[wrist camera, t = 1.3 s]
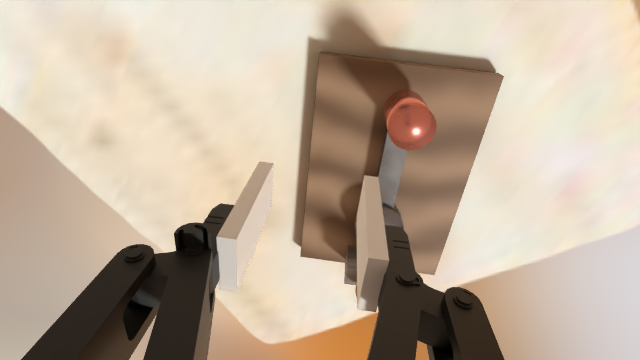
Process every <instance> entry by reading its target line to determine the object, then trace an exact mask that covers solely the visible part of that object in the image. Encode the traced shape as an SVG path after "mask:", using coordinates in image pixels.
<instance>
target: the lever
mask: <svg viewBox="0 0 640 360" xmlns="http://www.w3.org/2000/svg"><path fill="white" fill-rule="evenodd" d="M384 117H385V121H386V125H387V128H386V133H385V138H384V143H383V148H382V153H381V158H380V163H379V168H378V173H377V177H378V178H379V186H380V194H381V202H382V209H383V217H384V225H390V226H398V227H402V228H403V229H404V226H403V221H402V216H401V213H400V211H399V209H398V208H397V207H396V206H395V205H394V204H395V200H396V195H397V191H398V187H399V183H400V179H401V175H402V171H403V166H404V162H405V158H406V154H407V150H417V149H420V148H422V147H424V146H426V145H427V144H428V143H429V142H430V141H431V140H432V139H433V137H434V135H435V132H436V127H437V125H436V119H435V117H434V115H433V114H432V112H431V111H430V109H429V108H428V106H427V105H426V103H425V102H424V100H423V98H422V97H421V96H420V95H419V94H418V93H416V92H414V91H410V90H403V91H399V92H397V93H395V94H393V95H392V96H391V97H390V98H389V99H388V100H387V102H386V104H385V107H384ZM357 212H358V211H357ZM357 212H356V215H355V234H356V237H357Z"/></svg>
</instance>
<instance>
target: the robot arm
mask: <svg viewBox="0 0 640 360" xmlns="http://www.w3.org/2000/svg"><path fill="white" fill-rule="evenodd" d="M272 187H273V163H266V162H259V163H258V165H257V167H256V169H255V170H254V172H253V174H252V176H251V177H250V179H249V181H248V183H247V184H246V186H245V188H244V190H243V191H242V193H241V195H240V197H239V198H238V200H237V202H236V204H235V205H228V204H219V205H218V206H216V207H215V208H213V209H212V210H211V212H210V213H209V215H208V217H207V218H206V219H205V221H204V222H203V224H202V223H188V224H186V225H183V226H181V227H179V228H178V229H177V230H176V231H175V233H174V237H175V245H176V251H174V252H169V253H159V254H154V251H153V249H152V248H151V247H150V246H148V245H144V244H138V245H137V244H136V245H132V246H128V247H126V248H124V249H122V250H121V251H120V252H118V253H117V254H116V255H115V256H114V258H113V259H112V260H111V261H110V262H109V263H108V264H107V265H106V266H105V268H104V269H103V270H102V271H101V272H100V273H99V274H98V275H97V276H96V277H95V278H94V280H93V281H92V282H91V283H90V284H89V285H88V286H87V287H86V288H85V290H84V291H83V292H82V293H81V294H80V295H79V296H78V297H77V298H76V299H75V301H74V302H73V303H72V304H71V305H70V306H69V307H68V308H67V309H66V311H65V312H64V313H63V314H62V315H61V316H60V317H59V318H58V319H57V321H56V322H55V323H54V324H53V325H52V326H51V327H50V328H49V329H48V330H47V331H46V333H45V334H44V335H43V336H42V337H41V338H40V339H39V340H38V341H37V343H36V344H35V345H34V346H33V347H32V348H31V349H30V350H29V351H28V352H27V354H26V355H25V356H24V357H23V358H22V359H21V360H129V359H130V357H131V355H132V354H133V352H134V350H135V349H136V347H137V345H138V344H139V342H140V341H141V339H142V337H143V336H144V334H145V332H146V330H147V329H148V327H149V326H150V324H151V322H152V321H153V319H154V317H155V316H156V314H157V316H156V319H155V323H154V326H153V330H152V333H151V336H150V339H149V343H148V346H147V349H146V352H145V356H144V359H143V360H207V355H208V347H209V340H210V333H211V325H212V318H213V310H214V302H215V288H216V285H217V283H218V281H219V290H225V291H232V292H238V290H239V288H240V285H241V283H242V280H243V277H244V275H245V272H246V270H247V267H248V265H249V262H250V260H251V257H252V255H253V252H254V250H255V247H256V245H257V242H258V239H259V237H260V234H261V232H262V229H263V227H264V224H265V222H266V219H267V217H268V214H269V212H270V209H271V207H272ZM377 306H378V309H379V313H378V317H377V321H376V325H375V329H374V333H373V337H372V341H371V345H370V349H369V353H368V357H367V360H415V357H416V348H417V340H418V341H421V342H423V343H425V344H427V348H428V354H429V359H430V360H504V358H503V355H502V353H501V350H500V348H499V345H498V343H497V340H496V338H495V335H494V333H493V330H492V328H491V325H490V323H489V320H488V318H487V315H486V313H485V310H484V308H483V305H482V303H481V302H480V300H479V298H478V297H477V296H475V295H474V294H473V293H471V292H470V291H468V290H466V289H463V288H460V287H452V288H449V289H447V291H446V292H445V293H443V292H440V291H438V290H435V289H433V288H431V287H429V286H427V285H426V284H424V283H423V279H422V278H421V276H420V275H419V274H418V273H416V271H415V266H414V262H413V257H412V253H411V250H410V244H409V239H408V235H407V233H406V232H405V231H404V229H403V228H402V227H398V226H390V225H384V217H383V209H382V202H381V194H380V186H379V178H378V177H373V176H366V175H364V179H363V185H362V190H361V196H360V201H359V206H358V212H357V309H359V310H366V311H373V312H376V310H377Z"/></svg>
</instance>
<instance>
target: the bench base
mask: <svg viewBox="0 0 640 360" xmlns="http://www.w3.org/2000/svg"><path fill="white" fill-rule="evenodd" d="M503 77H504V76H502V75H501V74H499V73H492V72H484V71H476V70H467V69H459V68H451V67H442V66H434V65H425V64H417V63H409V62H400V61H392V60H383V59H375V58H367V57H358V56H350V55H341V54H333V53H325V52H320V54H319V64H318V75H317V86H316V96H315V107H314V118H313V128H312V139H311V150H310V160H309V171H308V182H307V192H306V203H305V213H304V224H303V235H302V245H301V256H300V257H307V258H315V259H322V260H329V261H336V262H344V263H345V282H344V284H351V285H356V296H357V237H356V234H355V215H356V212H357V211H358V206H359V201H360V196H361V190H362V185H363V179H364V175H366V176H373V177H377V173H378V168H379V163H380V158H381V153H382V148H383V143H384V138H385V133H386V128H387V125H386V121H385V117H384V107H385V104H386V102H387V100H388V99H389V98H390V97H391V96H392V95H393V94H395V93H397V92H399V91H403V90H410V91H414V92H416V93H418V94H419V95H420V96H421V97H422V98H423V100H424V102H425V103H426V105H427V106H428V108H429V109H430V111H431V112H432V114H433V115H434V117H435V119H436V125H437V127H436V132H435V135H434V137H433V139H432V140H431V141H430V142H429V143H428V144H427V145H426V146H424V147H422V148H420V149H417V150H407V154H406V158H405V162H404V166H403V171H402V175H401V179H400V183H399V187H398V191H397V195H396V200H395V204H394V205H395V206H396V207H397V208H398V209H399V211H400V213H401V216H402V221H403V226H404V231H405V232H406V233H407V235H408V239H409V244H410V250H411V253H412V257H413V262H414V266H415V271H416V273H423V274H431V275H434V274H435V272H436V269H437V266H438V263H439V260H440V257H441V254H442V252H443V249H444V246H445V243H446V240H447V237H448V234H449V232H450V229H451V226H452V223H453V220H454V217H455V214H456V212H457V209H458V206H459V203H460V200H461V197H462V194H463V192H464V189H465V186H466V183H467V180H468V177H469V174H470V172H471V169H472V166H473V163H474V160H475V157H476V154H477V152H478V149H479V146H480V143H481V140H482V137H483V134H484V132H485V129H486V126H487V123H488V120H489V117H490V114H491V112H492V109H493V106H494V103H495V100H496V97H497V94H498V92H499V89H500V86H501V83H502V80H503ZM377 307H378V306H377Z"/></svg>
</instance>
